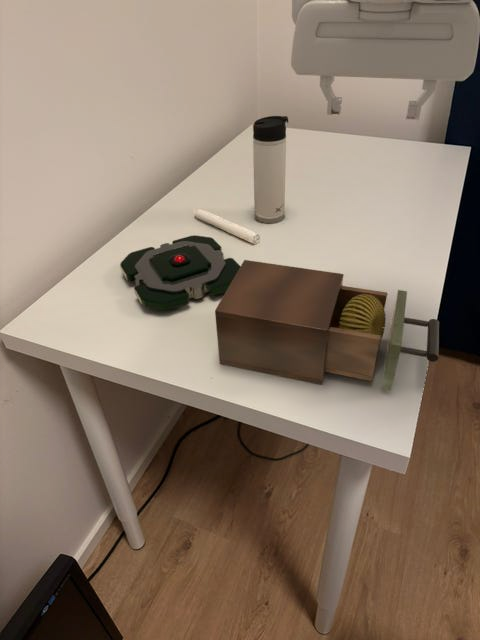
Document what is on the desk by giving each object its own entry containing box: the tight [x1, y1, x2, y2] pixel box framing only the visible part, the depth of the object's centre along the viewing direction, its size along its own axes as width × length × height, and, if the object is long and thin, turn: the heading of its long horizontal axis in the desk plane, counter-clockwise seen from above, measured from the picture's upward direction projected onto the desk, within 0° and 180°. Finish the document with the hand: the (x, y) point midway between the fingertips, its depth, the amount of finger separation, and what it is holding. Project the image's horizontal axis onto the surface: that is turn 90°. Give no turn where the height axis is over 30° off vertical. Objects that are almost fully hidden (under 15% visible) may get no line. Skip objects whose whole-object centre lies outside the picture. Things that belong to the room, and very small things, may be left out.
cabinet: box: [214, 259, 345, 385], centre depth 68 cm, size 15×13×10 cm
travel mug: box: [252, 115, 289, 224], centre depth 95 cm, size 6×7×20 cm
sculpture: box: [339, 294, 387, 342], centre depth 64 cm, size 8×4×8 cm, turn 139°
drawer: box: [324, 285, 440, 391], centre depth 65 cm, size 18×11×8 cm, turn 72°
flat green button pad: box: [119, 234, 241, 311], centre depth 84 cm, size 18×18×5 cm
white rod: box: [193, 208, 261, 245], centre depth 98 cm, size 18×2×2 cm, turn 46°
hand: (372, 116), depth 59 cm, fingers open, 8 cm apart
